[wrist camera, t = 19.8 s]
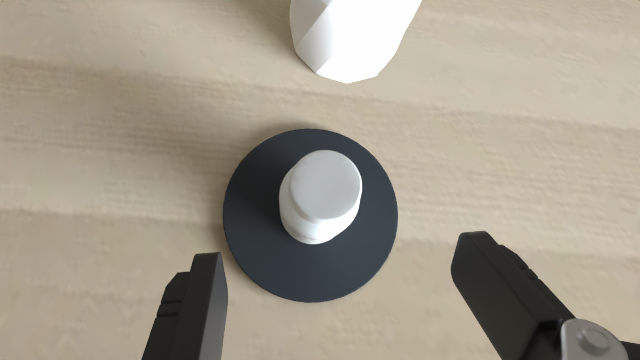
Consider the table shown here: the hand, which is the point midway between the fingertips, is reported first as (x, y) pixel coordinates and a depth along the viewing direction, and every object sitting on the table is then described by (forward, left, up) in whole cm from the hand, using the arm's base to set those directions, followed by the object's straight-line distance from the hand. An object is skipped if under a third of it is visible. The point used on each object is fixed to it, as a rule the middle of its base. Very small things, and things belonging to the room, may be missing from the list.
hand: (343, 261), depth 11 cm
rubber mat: (+3, +2, -12) cm, 12 cm away
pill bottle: (+3, +2, -11) cm, 12 cm away
